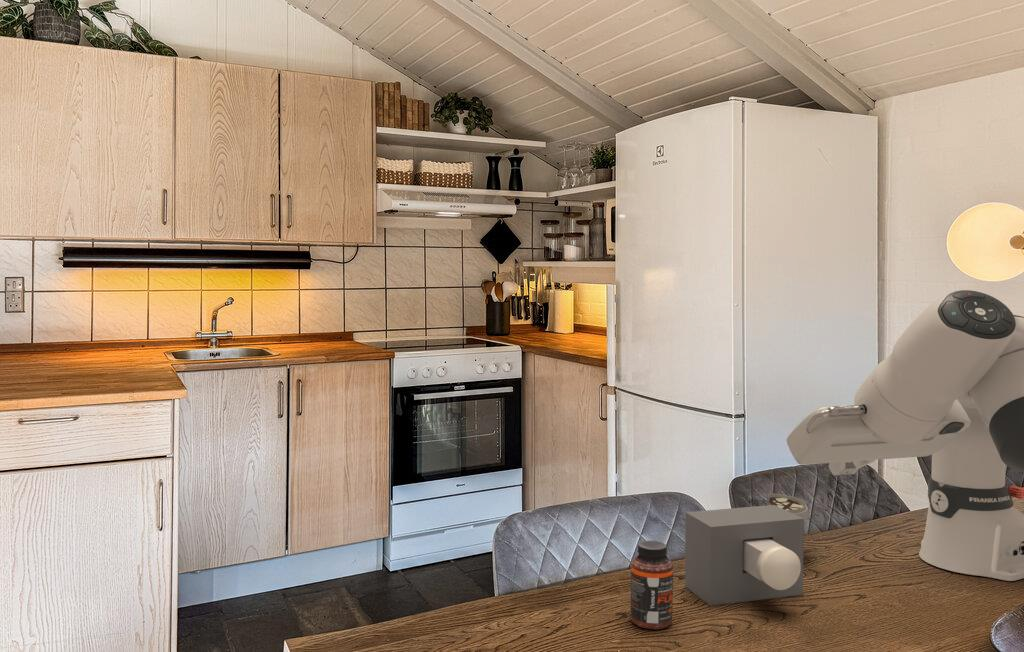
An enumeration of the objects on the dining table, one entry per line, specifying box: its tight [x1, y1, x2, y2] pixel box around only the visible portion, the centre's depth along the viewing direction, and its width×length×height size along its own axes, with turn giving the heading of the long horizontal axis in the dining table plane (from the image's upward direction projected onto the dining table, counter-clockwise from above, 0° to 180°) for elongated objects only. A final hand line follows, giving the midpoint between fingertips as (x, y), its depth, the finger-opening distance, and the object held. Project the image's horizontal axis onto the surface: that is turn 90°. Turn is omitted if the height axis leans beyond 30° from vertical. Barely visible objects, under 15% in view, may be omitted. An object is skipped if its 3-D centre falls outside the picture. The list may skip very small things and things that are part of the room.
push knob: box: [743, 537, 801, 590], centre depth 117 cm, size 6×8×6 cm
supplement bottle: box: [630, 540, 674, 631], centre depth 112 cm, size 6×6×11 cm
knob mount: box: [684, 505, 805, 607], centre depth 124 cm, size 16×8×12 cm, turn 105°
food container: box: [767, 493, 810, 527], centre depth 138 cm, size 12×6×10 cm, turn 168°
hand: (840, 470), depth 101 cm, fingers closed
